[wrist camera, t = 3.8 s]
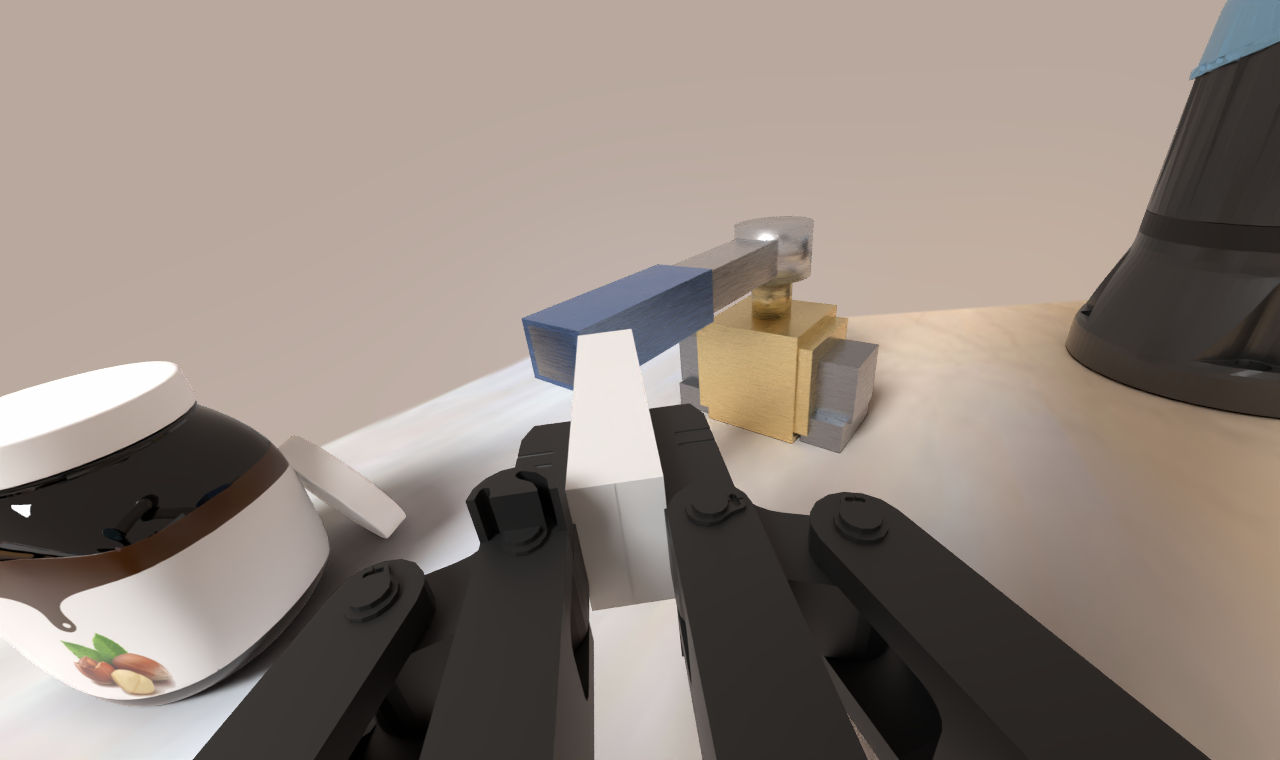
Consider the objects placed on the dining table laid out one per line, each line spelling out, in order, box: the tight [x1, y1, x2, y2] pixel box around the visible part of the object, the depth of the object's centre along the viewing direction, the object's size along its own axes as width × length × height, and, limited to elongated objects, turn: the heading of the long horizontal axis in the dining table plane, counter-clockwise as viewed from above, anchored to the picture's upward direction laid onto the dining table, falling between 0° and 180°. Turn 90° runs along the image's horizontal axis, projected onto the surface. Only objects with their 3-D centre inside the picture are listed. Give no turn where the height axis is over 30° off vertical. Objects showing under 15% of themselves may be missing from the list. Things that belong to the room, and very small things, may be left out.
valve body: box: [679, 283, 879, 453], centre depth 30 cm, size 12×6×9 cm, turn 50°
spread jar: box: [0, 361, 406, 707], centre depth 20 cm, size 12×11×12 cm
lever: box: [522, 216, 814, 390], centre depth 23 cm, size 4×19×3 cm, turn 140°
